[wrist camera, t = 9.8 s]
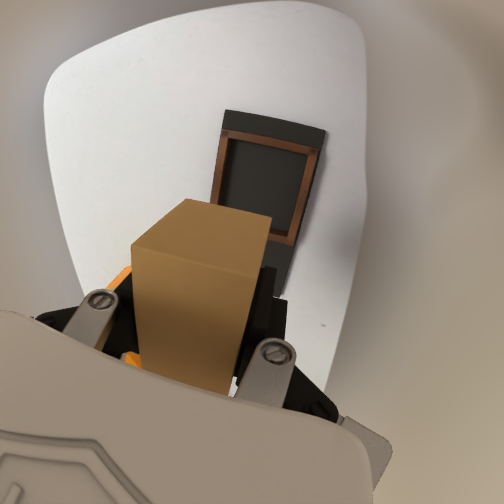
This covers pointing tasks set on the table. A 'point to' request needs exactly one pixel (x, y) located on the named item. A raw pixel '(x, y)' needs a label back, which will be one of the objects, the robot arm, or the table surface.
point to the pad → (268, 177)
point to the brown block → (196, 291)
